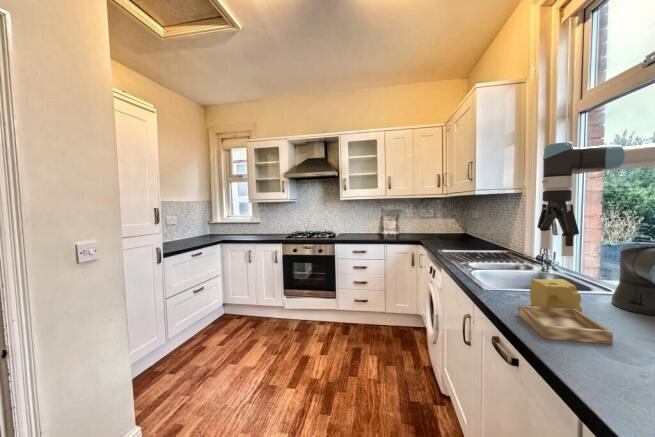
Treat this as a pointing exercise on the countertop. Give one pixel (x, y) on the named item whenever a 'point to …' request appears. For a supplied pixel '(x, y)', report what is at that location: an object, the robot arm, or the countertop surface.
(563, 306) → the cheese
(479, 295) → the countertop surface
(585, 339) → the wooden tray
